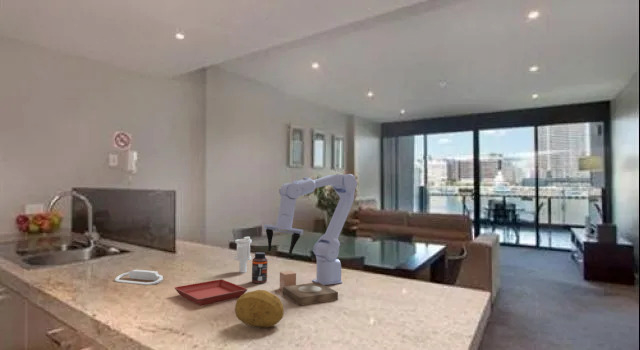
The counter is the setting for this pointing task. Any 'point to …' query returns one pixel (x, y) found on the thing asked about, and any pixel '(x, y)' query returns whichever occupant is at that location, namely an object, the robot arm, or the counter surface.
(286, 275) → the block
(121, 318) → the counter surface
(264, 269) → the supplement bottle
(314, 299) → the plinth
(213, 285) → the plant saucer
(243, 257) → the white upright piece
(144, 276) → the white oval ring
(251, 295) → the potato
